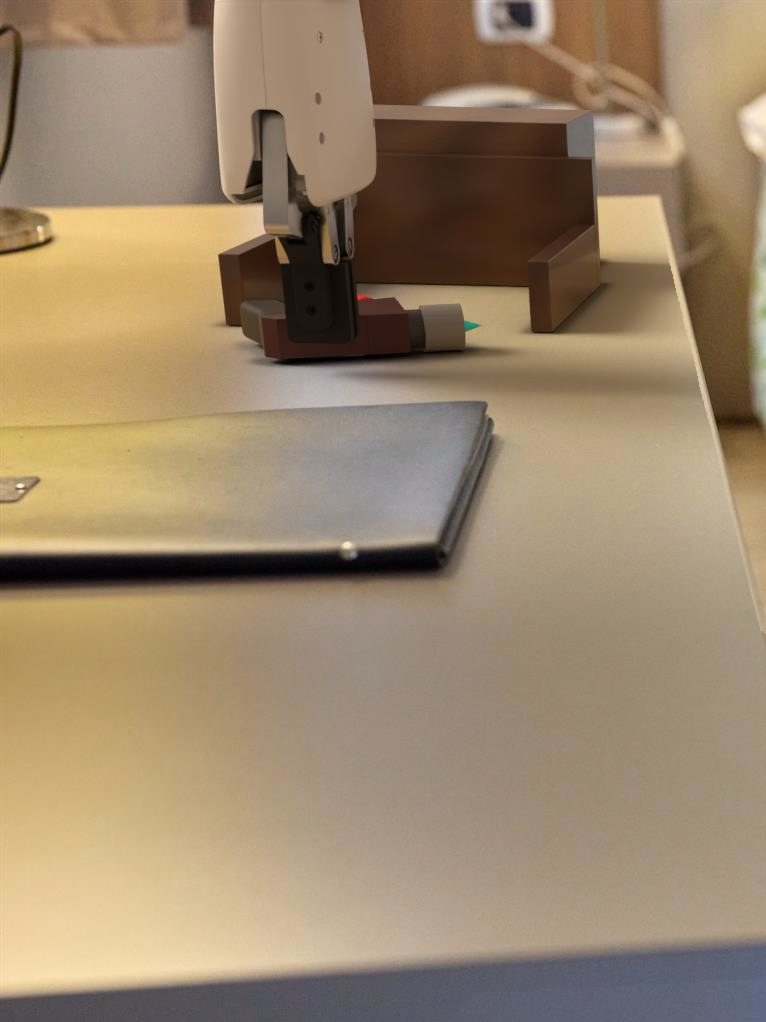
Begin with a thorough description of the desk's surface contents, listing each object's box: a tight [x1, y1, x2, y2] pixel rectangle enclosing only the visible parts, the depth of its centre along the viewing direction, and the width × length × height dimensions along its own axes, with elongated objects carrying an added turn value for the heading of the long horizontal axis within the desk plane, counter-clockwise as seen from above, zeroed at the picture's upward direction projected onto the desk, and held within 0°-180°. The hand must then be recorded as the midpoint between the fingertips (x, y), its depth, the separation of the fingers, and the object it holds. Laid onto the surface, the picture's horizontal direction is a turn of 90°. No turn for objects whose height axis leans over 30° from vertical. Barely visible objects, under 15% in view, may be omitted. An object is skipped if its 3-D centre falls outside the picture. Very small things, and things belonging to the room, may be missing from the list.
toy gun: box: [240, 293, 483, 360], centre depth 106 cm, size 10×12×5 cm
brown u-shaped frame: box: [217, 104, 602, 333], centre depth 120 cm, size 18×25×10 cm
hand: (324, 339), depth 99 cm, fingers closed
